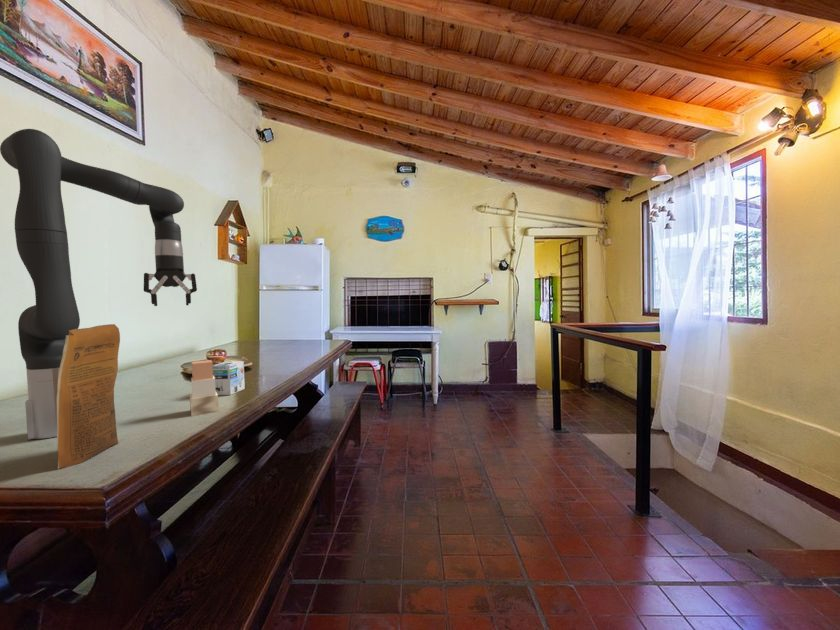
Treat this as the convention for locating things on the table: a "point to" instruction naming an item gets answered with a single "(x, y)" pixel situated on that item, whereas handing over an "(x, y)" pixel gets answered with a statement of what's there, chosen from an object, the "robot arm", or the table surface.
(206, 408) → the tower base block
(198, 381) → the tower top block
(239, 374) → the light bulb box
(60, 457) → the pancake mix bag
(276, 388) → the table surface
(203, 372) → the terracotta block
